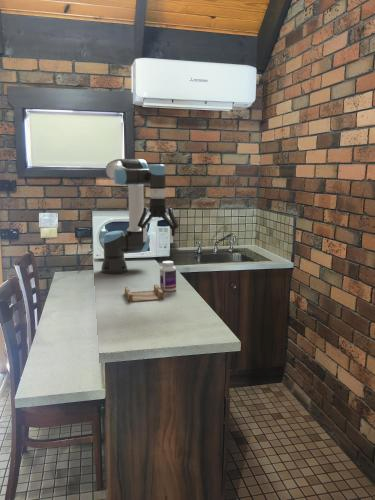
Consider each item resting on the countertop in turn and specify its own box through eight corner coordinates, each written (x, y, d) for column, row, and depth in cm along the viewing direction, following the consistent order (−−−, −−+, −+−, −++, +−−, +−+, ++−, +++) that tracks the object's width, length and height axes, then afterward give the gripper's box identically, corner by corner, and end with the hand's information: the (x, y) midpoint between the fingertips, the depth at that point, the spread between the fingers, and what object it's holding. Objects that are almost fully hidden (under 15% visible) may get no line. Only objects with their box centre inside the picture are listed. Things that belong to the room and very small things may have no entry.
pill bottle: (178, 288, 215) (178, 261, 212) (171, 293, 208) (171, 264, 205) (164, 286, 219) (164, 259, 216) (157, 290, 212) (157, 262, 209)
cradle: (124, 293, 206) (124, 286, 206) (156, 291, 211) (156, 284, 210) (129, 302, 193) (129, 295, 192) (163, 299, 198) (163, 292, 197)
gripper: (130, 197, 201) (131, 241, 205) (180, 198, 193) (180, 244, 197) (136, 196, 208) (137, 239, 212) (185, 197, 200) (185, 242, 204)
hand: (158, 242), depth 204 cm, fingers open, 13 cm apart
